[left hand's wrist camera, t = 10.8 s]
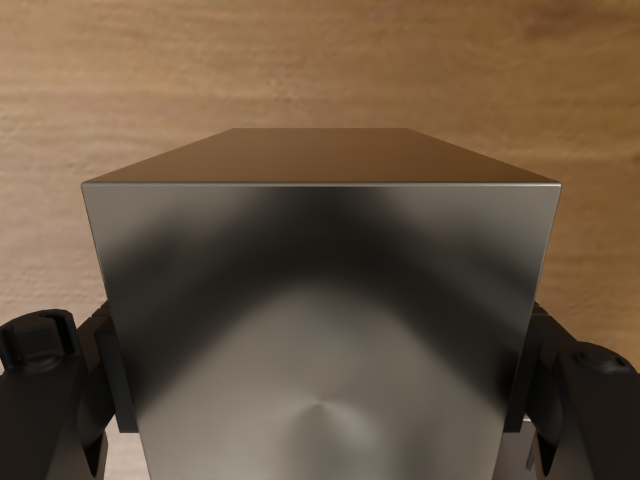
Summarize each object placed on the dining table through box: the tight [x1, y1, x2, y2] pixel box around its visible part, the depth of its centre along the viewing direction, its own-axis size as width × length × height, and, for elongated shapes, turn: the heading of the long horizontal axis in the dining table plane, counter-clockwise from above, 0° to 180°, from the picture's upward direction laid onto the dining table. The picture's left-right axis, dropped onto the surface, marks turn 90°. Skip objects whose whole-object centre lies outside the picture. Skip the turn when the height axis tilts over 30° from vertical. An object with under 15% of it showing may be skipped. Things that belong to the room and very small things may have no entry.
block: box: [81, 128, 562, 480], centre depth 12 cm, size 8×9×11 cm
